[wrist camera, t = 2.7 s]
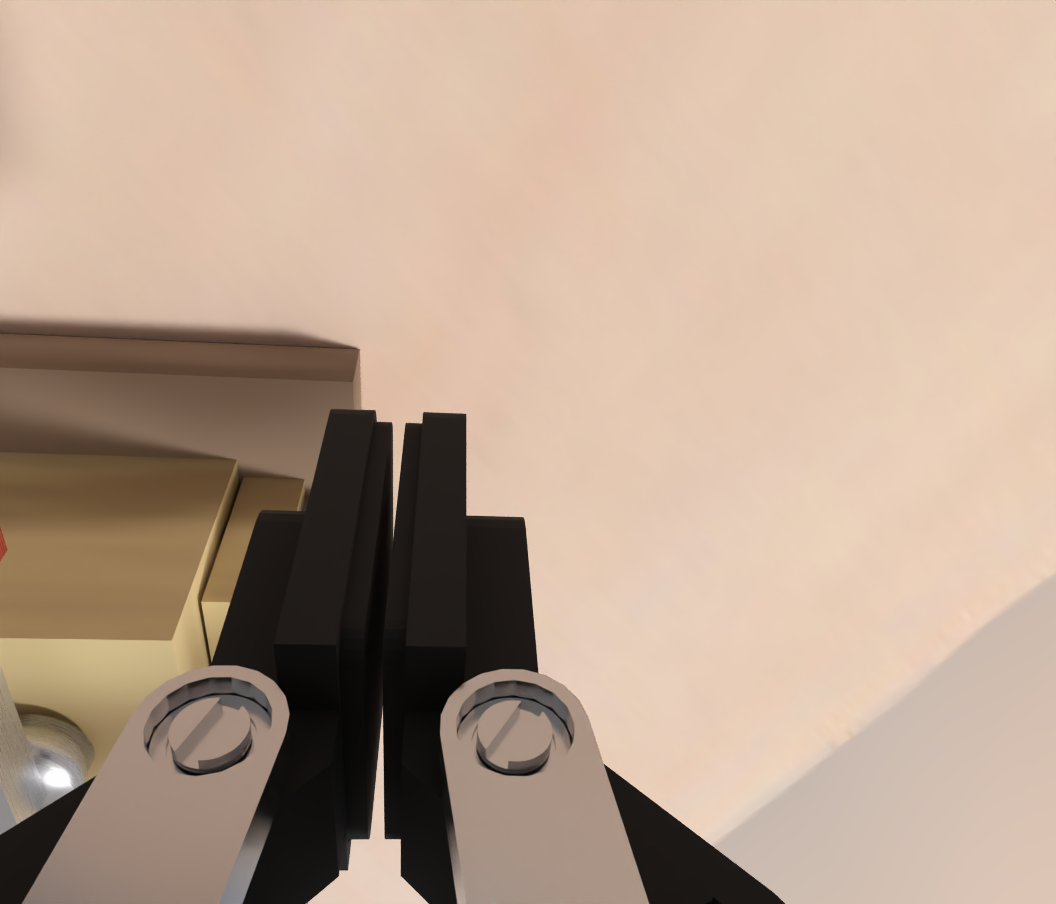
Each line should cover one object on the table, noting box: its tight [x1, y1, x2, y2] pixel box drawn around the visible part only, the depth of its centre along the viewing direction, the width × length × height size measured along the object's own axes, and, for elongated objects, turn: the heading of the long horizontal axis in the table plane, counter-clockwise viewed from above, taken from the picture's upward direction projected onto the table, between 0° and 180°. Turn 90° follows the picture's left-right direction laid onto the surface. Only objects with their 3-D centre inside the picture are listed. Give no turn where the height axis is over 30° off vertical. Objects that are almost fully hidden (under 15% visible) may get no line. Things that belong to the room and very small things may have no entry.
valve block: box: [0, 333, 361, 782], centre depth 20 cm, size 10×11×7 cm
